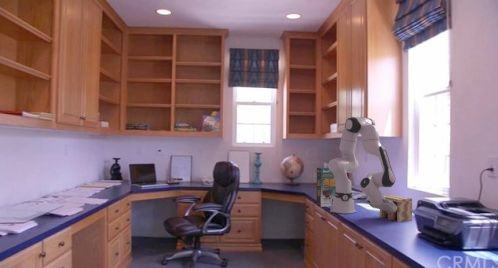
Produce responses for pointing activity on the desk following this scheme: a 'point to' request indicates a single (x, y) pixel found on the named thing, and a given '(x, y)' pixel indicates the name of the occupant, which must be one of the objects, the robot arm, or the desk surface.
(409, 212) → the wooden shelf
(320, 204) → the cake mix box
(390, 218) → the peach rounded capsule
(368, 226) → the desk surface
